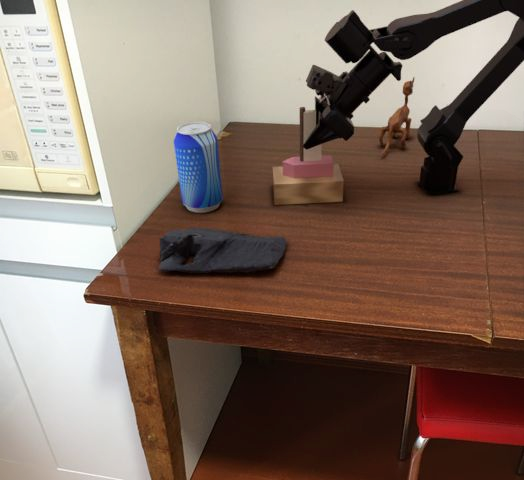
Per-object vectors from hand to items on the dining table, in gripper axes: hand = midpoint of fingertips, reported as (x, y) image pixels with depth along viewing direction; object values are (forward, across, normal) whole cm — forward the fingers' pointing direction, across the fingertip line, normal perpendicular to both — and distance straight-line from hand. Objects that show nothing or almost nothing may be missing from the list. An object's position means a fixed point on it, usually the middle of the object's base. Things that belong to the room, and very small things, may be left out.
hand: (303, 142), depth 119 cm
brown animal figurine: (-9, -25, +25) cm, 36 cm away
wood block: (+7, 0, +8) cm, 11 cm away
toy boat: (+4, 0, +6) cm, 7 cm away
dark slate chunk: (+19, +24, -3) cm, 31 cm away
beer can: (+23, +3, -7) cm, 24 cm away
